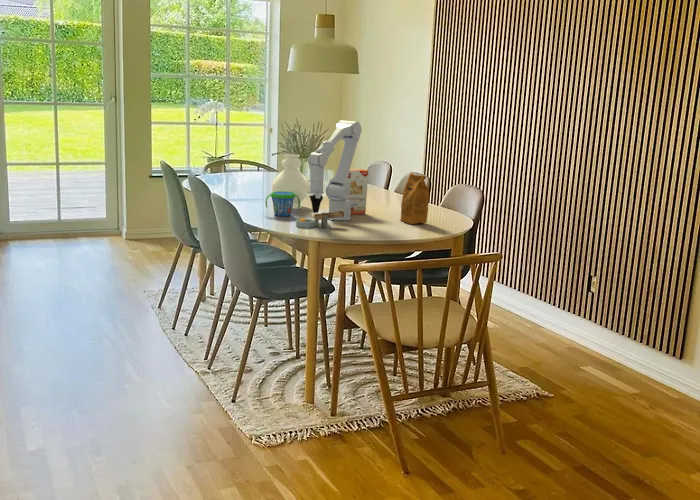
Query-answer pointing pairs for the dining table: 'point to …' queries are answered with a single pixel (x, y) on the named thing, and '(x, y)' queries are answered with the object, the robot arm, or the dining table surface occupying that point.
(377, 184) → the dining table surface
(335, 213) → the lever
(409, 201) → the coffee package
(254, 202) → the dining table surface
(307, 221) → the grey octagonal bowl
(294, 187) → the decorative vase
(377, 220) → the dining table surface
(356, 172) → the cracker box
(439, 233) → the dining table surface
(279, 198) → the snack cup
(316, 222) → the fulcrum
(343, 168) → the robot arm
